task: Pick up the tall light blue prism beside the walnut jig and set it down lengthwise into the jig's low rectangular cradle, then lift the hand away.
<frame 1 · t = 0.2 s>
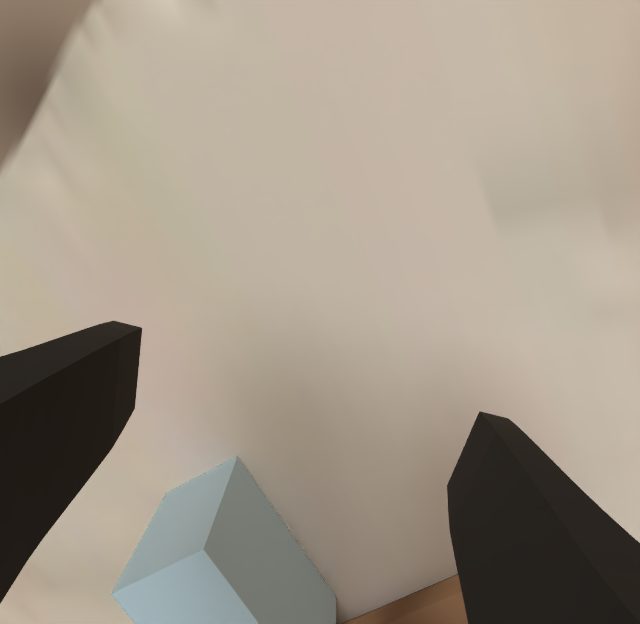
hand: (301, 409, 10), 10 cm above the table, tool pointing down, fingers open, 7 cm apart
tall light blue prism: (253, 545, 24), on the table
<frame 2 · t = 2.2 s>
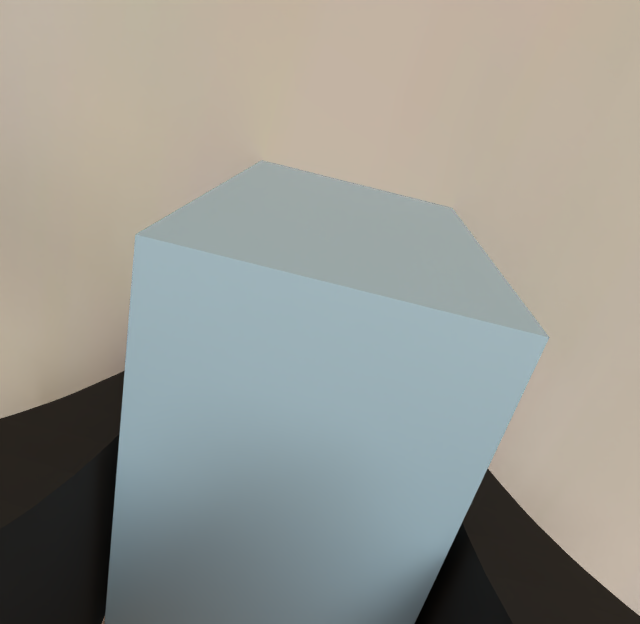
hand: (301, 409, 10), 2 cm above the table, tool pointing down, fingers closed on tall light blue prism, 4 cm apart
tall light blue prism: (309, 370, 12), on the table, touching gripper
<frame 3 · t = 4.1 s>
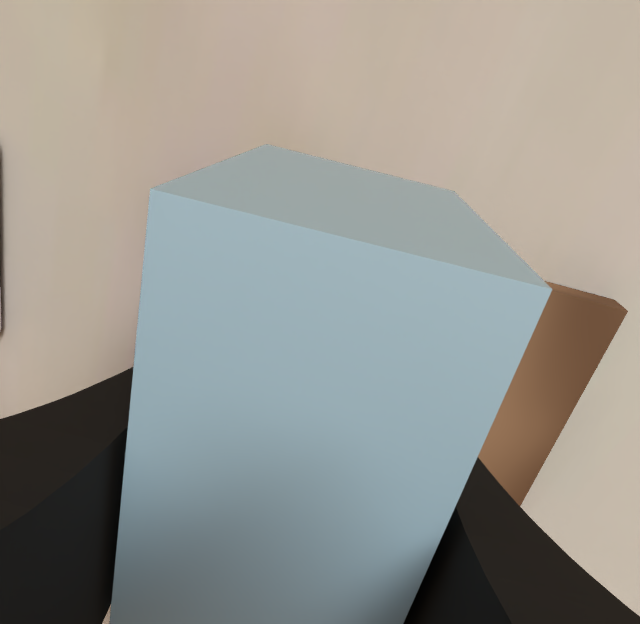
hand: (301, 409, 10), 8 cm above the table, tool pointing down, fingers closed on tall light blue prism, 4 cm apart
cradle: (330, 441, 21), on the table
tall light blue prism: (312, 354, 12), point 7 cm above the table, touching gripper
when the fingers open (4 cm above the table, at t = 5.8 s): tall light blue prism stays where it is, resting on cradle.
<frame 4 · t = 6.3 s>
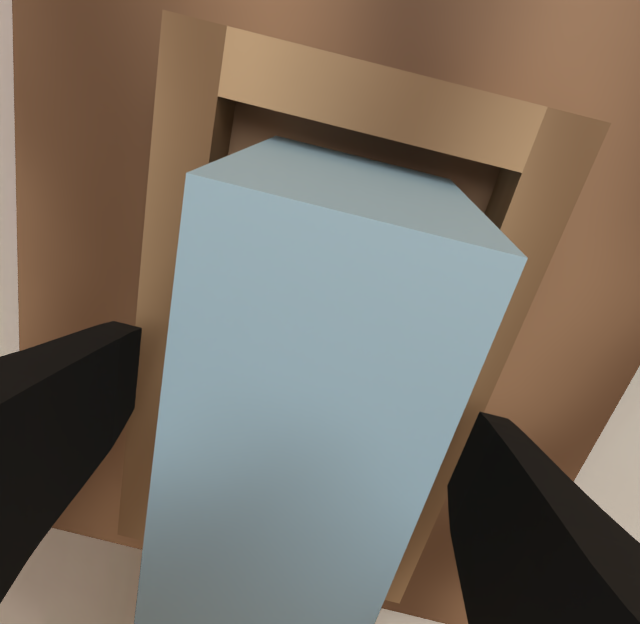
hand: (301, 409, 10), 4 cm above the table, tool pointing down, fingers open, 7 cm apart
cradle: (318, 330, 14), on the table
tall light blue prism: (318, 332, 13), point 1 cm above the table, touching cradle
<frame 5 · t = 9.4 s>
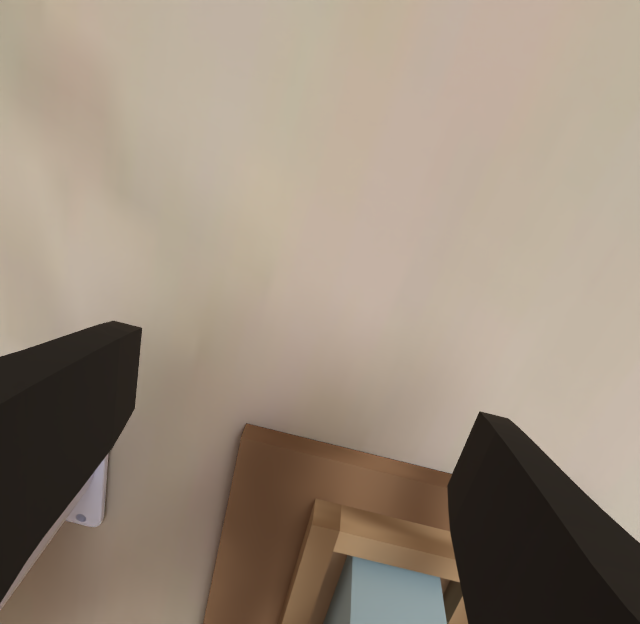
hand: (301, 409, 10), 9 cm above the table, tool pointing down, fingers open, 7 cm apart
cradle: (367, 598, 26), on the table
tall light blue prism: (369, 611, 25), point 1 cm above the table, touching cradle
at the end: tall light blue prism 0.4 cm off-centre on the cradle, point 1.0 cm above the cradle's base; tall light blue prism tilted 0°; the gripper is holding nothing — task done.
